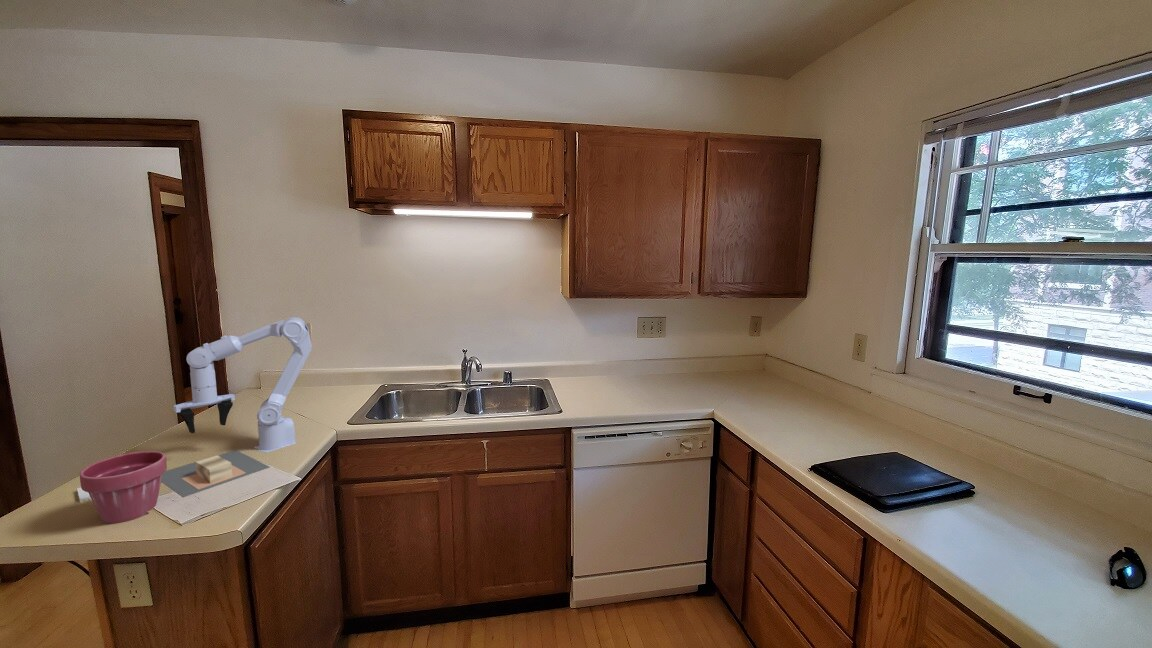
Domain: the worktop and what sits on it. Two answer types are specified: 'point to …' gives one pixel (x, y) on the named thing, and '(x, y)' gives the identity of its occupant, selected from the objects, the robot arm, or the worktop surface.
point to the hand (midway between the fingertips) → (207, 428)
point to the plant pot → (124, 484)
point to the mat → (189, 483)
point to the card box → (213, 469)
